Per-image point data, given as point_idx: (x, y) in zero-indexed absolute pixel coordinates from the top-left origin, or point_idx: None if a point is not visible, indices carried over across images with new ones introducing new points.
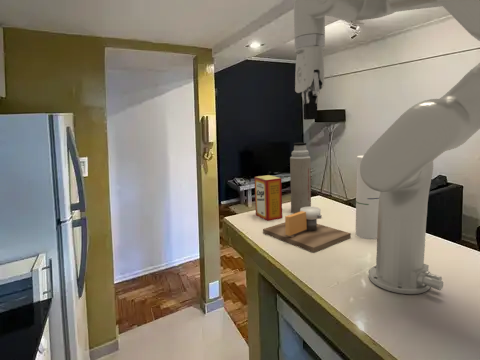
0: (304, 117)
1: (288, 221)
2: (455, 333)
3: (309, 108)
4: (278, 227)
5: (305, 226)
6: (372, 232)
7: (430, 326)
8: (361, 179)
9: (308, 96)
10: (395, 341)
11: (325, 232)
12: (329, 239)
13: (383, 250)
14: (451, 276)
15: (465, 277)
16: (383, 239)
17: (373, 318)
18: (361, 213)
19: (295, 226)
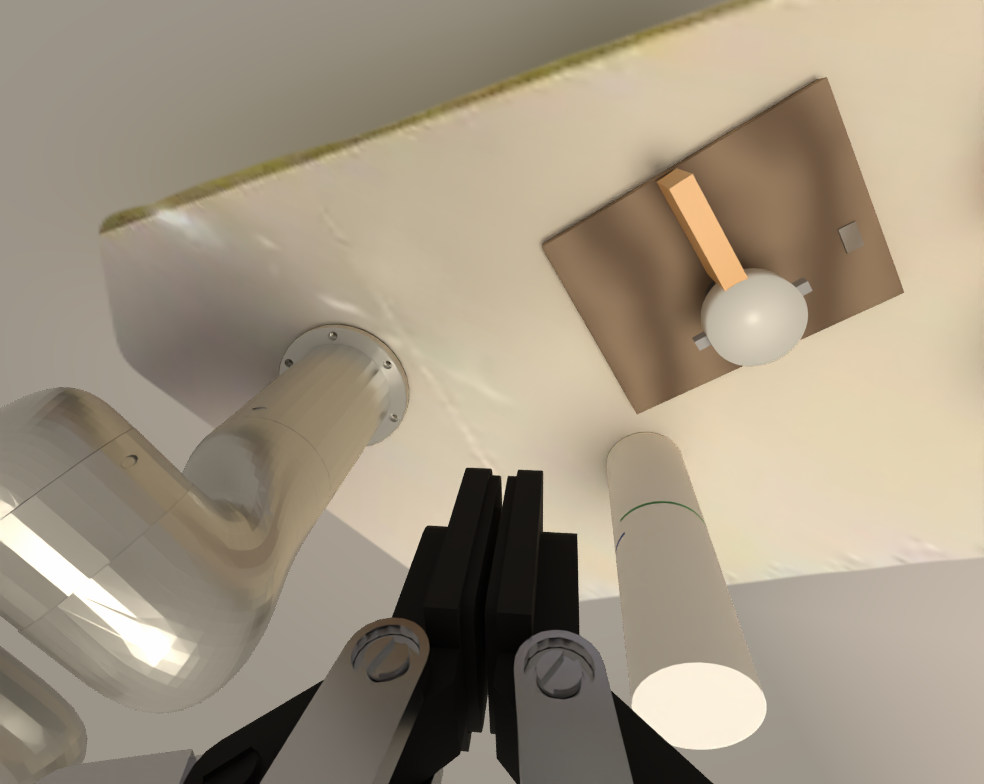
0: (516, 481)
1: (670, 184)
2: (168, 369)
3: (406, 588)
4: (813, 163)
5: (707, 271)
6: (607, 472)
7: (183, 343)
8: (656, 575)
9: (295, 738)
10: (133, 259)
11: (673, 338)
12: (600, 325)
13: (286, 374)
14: (358, 493)
15: (353, 512)
16: (273, 387)
17: (197, 255)
18: (635, 483)
19: (680, 219)
